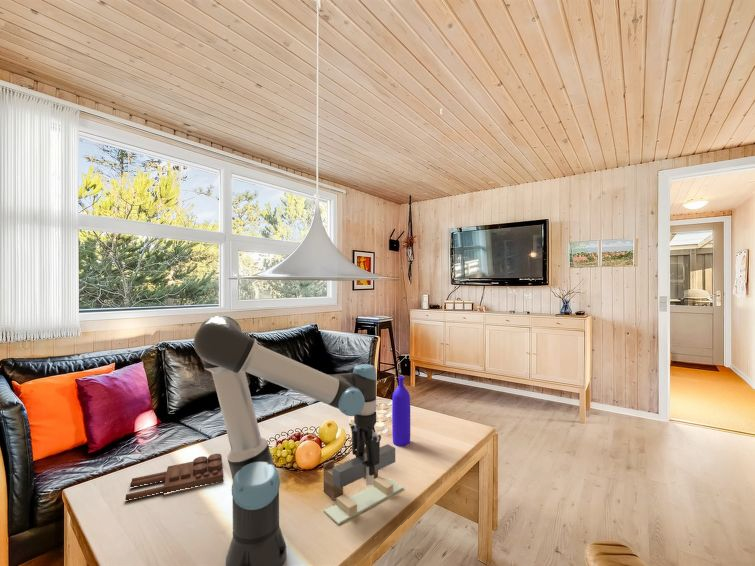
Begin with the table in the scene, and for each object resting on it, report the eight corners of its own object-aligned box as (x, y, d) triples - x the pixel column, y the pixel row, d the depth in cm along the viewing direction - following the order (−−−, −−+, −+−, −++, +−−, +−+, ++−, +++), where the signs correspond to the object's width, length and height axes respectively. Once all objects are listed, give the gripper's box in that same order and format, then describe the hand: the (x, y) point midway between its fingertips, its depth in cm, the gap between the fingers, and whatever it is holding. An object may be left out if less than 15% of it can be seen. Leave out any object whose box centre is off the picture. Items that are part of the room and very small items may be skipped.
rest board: (338, 525, 107) (338, 515, 107) (323, 512, 113) (323, 502, 113) (403, 488, 125) (403, 480, 125) (388, 479, 131) (388, 471, 131)
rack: (333, 499, 119) (333, 470, 119) (323, 491, 124) (323, 463, 124) (378, 477, 132) (377, 451, 132) (367, 470, 137) (367, 445, 137)
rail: (339, 488, 109) (339, 472, 109) (332, 482, 112) (332, 467, 112) (395, 462, 125) (395, 448, 125) (387, 457, 128) (387, 444, 128)
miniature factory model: (223, 469, 130) (124, 491, 117) (223, 482, 130) (125, 505, 117) (221, 451, 144) (133, 468, 131) (221, 462, 144) (133, 481, 131)
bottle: (389, 440, 163) (388, 375, 163) (404, 437, 166) (404, 373, 166) (397, 448, 155) (397, 380, 155) (413, 444, 159) (413, 378, 159)
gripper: (390, 415, 115) (391, 487, 115) (358, 402, 128) (358, 466, 128) (373, 421, 110) (373, 496, 110) (341, 407, 123) (341, 474, 123)
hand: (365, 480), depth 119 cm, fingers closed on rail, 4 cm apart
